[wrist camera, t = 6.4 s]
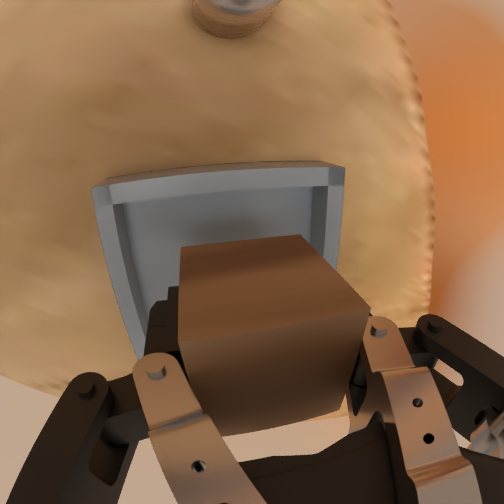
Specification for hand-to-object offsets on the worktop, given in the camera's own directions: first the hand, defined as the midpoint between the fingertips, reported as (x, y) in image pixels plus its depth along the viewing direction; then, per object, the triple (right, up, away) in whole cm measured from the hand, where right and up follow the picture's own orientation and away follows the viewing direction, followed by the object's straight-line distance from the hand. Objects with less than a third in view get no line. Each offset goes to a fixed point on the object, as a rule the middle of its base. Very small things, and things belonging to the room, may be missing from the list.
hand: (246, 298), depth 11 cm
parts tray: (-2, 0, +8) cm, 8 cm away
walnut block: (0, 0, 0) cm, 0 cm away
